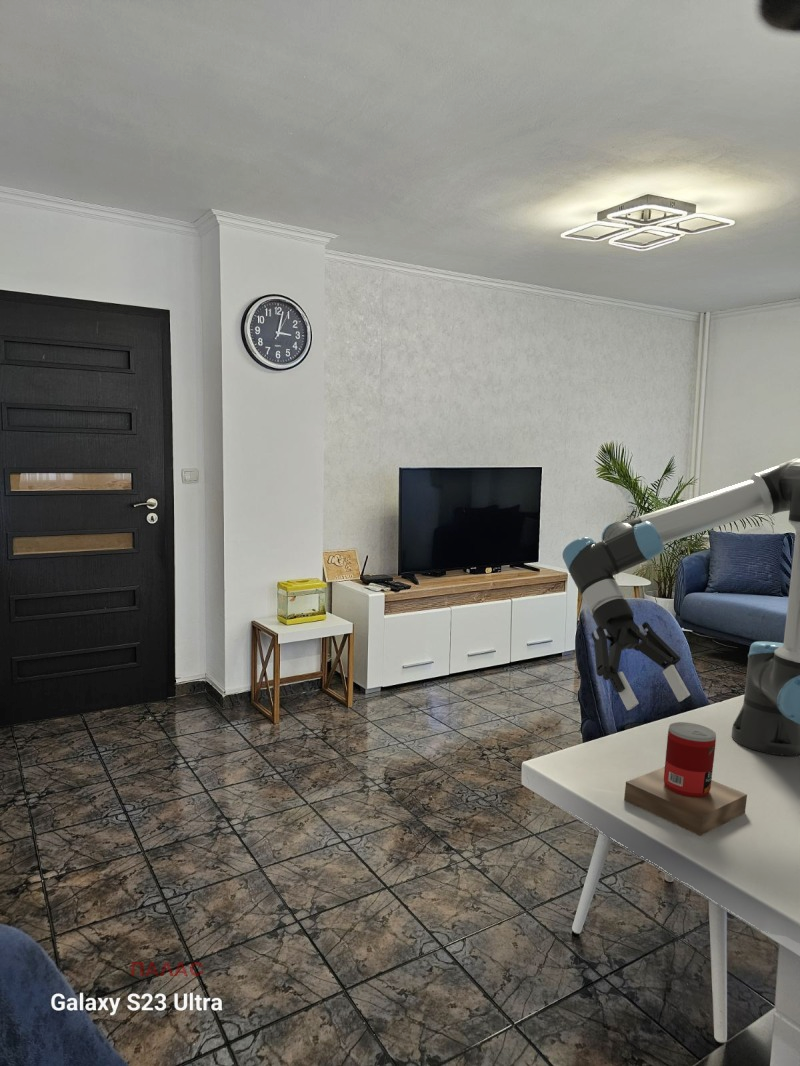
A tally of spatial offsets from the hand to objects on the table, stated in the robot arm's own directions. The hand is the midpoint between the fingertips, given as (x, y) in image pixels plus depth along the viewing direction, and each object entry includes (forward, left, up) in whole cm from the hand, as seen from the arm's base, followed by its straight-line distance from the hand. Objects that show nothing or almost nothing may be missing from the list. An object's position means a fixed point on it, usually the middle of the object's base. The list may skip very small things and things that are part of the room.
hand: (659, 702), depth 141 cm
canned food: (+1, +8, -14) cm, 16 cm away
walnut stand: (+1, +7, -17) cm, 19 cm away
